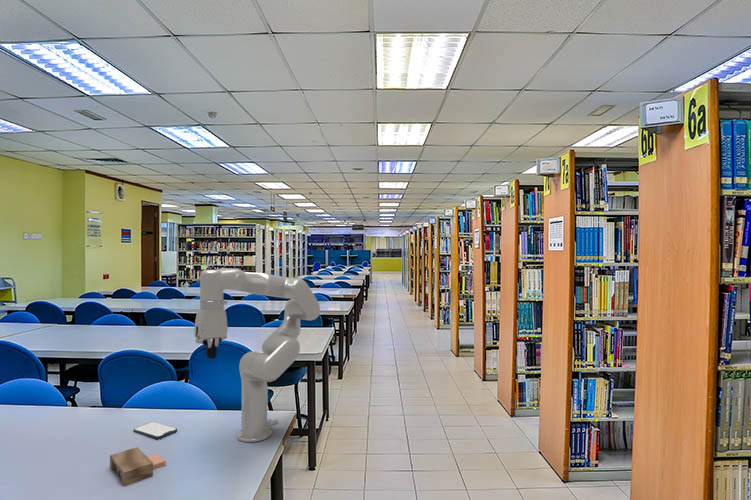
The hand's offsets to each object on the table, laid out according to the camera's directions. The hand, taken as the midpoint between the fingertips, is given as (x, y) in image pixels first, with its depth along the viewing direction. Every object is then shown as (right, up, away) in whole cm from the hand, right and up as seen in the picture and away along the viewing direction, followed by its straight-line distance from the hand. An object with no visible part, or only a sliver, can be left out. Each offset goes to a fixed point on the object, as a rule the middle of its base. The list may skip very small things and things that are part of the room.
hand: (211, 358), depth 145 cm
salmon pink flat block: (-18, -34, -10) cm, 39 cm away
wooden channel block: (-21, -33, -12) cm, 41 cm away
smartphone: (-29, -34, +17) cm, 47 cm away
